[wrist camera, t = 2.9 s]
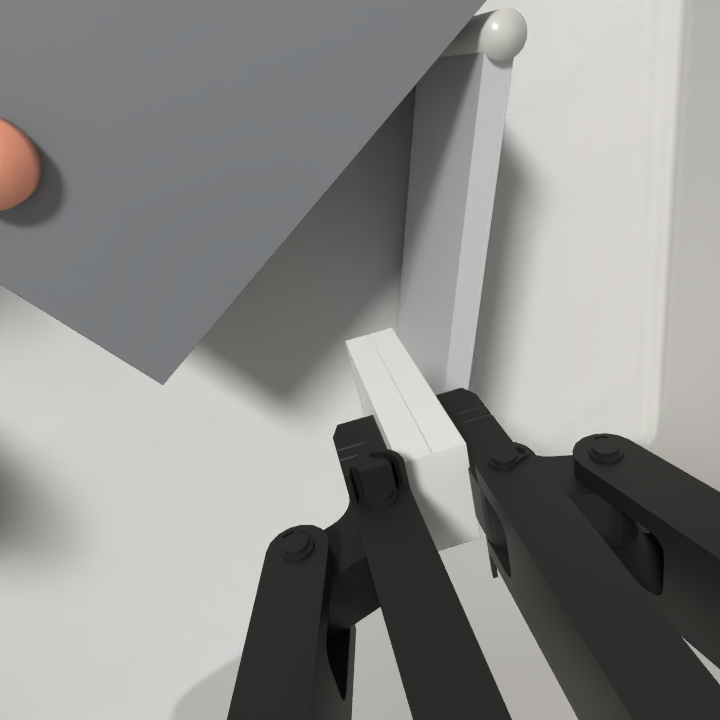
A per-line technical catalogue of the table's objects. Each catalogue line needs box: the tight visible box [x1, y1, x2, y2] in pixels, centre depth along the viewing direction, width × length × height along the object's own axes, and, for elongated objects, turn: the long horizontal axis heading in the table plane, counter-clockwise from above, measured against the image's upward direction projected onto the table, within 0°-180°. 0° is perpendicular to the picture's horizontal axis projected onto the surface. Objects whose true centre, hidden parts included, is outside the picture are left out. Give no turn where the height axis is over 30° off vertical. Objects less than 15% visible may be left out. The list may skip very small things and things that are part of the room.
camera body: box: [0, 0, 486, 385], centre depth 20 cm, size 18×10×9 cm, turn 137°
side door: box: [397, 8, 527, 395], centre depth 24 cm, size 14×2×7 cm, turn 177°
